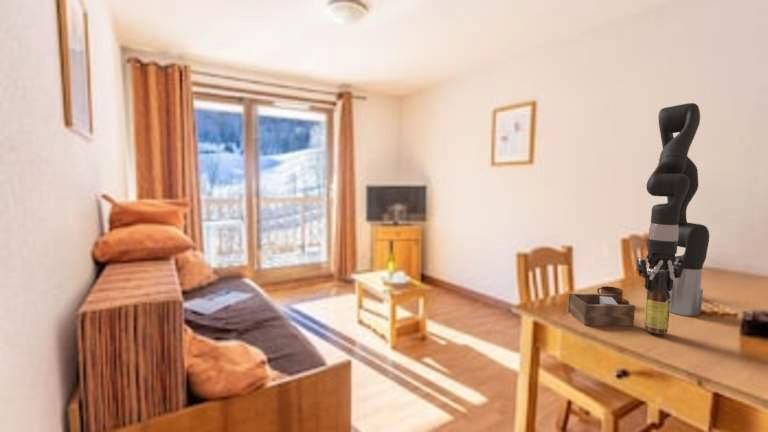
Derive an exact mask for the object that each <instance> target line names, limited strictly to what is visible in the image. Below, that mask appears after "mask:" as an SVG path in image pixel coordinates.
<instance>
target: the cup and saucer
mask: <svg viewBox="0 0 768 432" xmlns="http://www.w3.org/2000/svg"><path fill="white" fill-rule="evenodd" d="M596 292H597V294H615V301H616V303H617V304H618V305H630V302H629V300H628V299H626V298H625V297H624V298H623V293H624V290H623V289H622V288H619V287H615V286H608V285H606V286H601V287H597V290H596Z"/></svg>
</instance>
